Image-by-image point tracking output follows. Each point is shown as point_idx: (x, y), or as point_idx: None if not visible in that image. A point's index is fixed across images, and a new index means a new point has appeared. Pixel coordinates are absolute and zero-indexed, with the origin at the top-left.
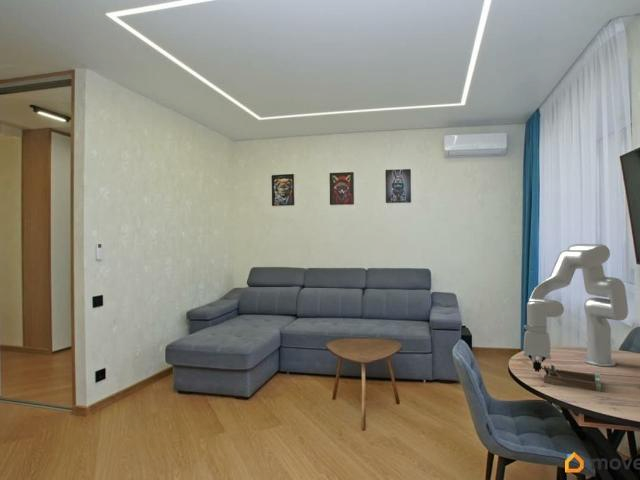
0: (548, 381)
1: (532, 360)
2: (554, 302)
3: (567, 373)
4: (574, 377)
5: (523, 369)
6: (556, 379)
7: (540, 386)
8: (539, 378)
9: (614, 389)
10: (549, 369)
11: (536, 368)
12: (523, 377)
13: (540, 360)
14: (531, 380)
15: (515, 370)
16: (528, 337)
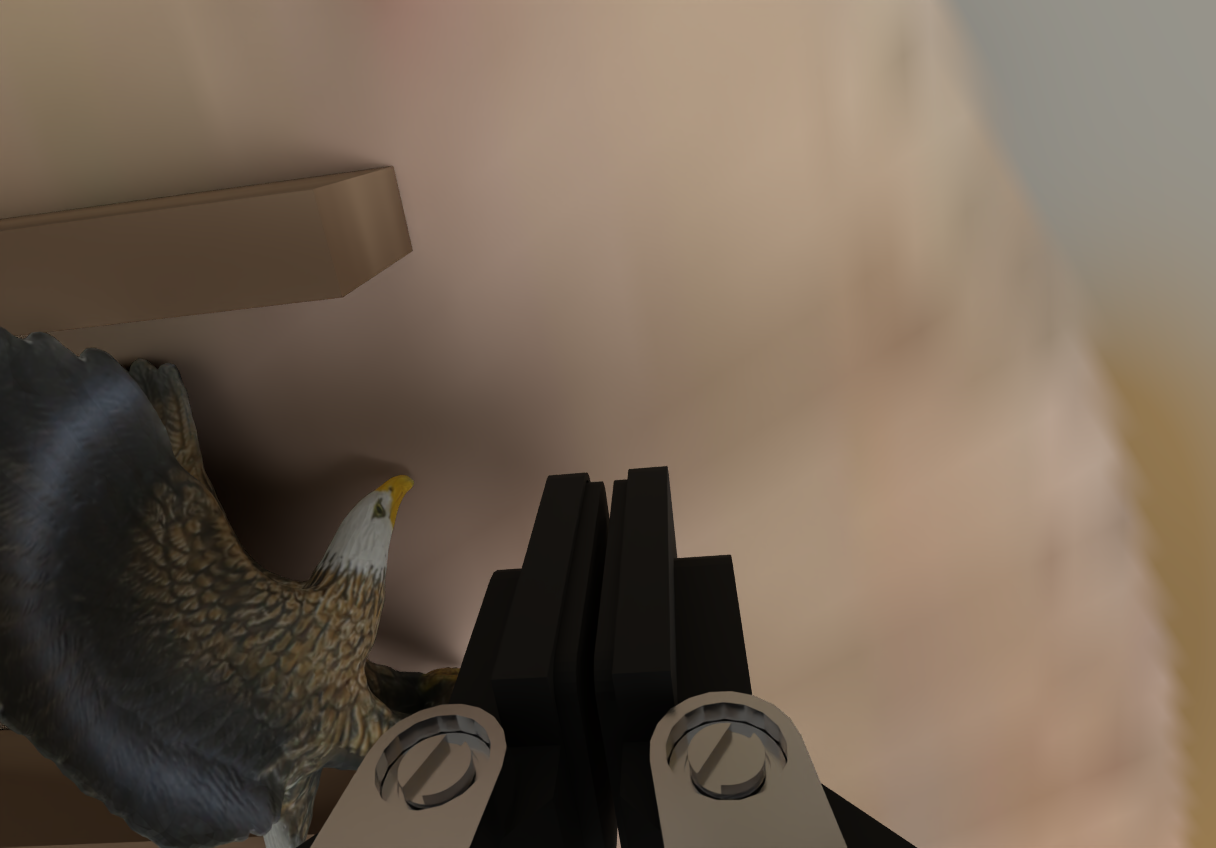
0: (276, 184)
1: (792, 752)
2: None
3: (83, 805)
4: (19, 760)
5: (965, 814)
6: (21, 223)
7: None
8: (578, 443)
9: None
10: (346, 745)
11: (615, 524)
12: (936, 295)
13: (385, 820)
14: (716, 165)
15: (1134, 688)
16: None
